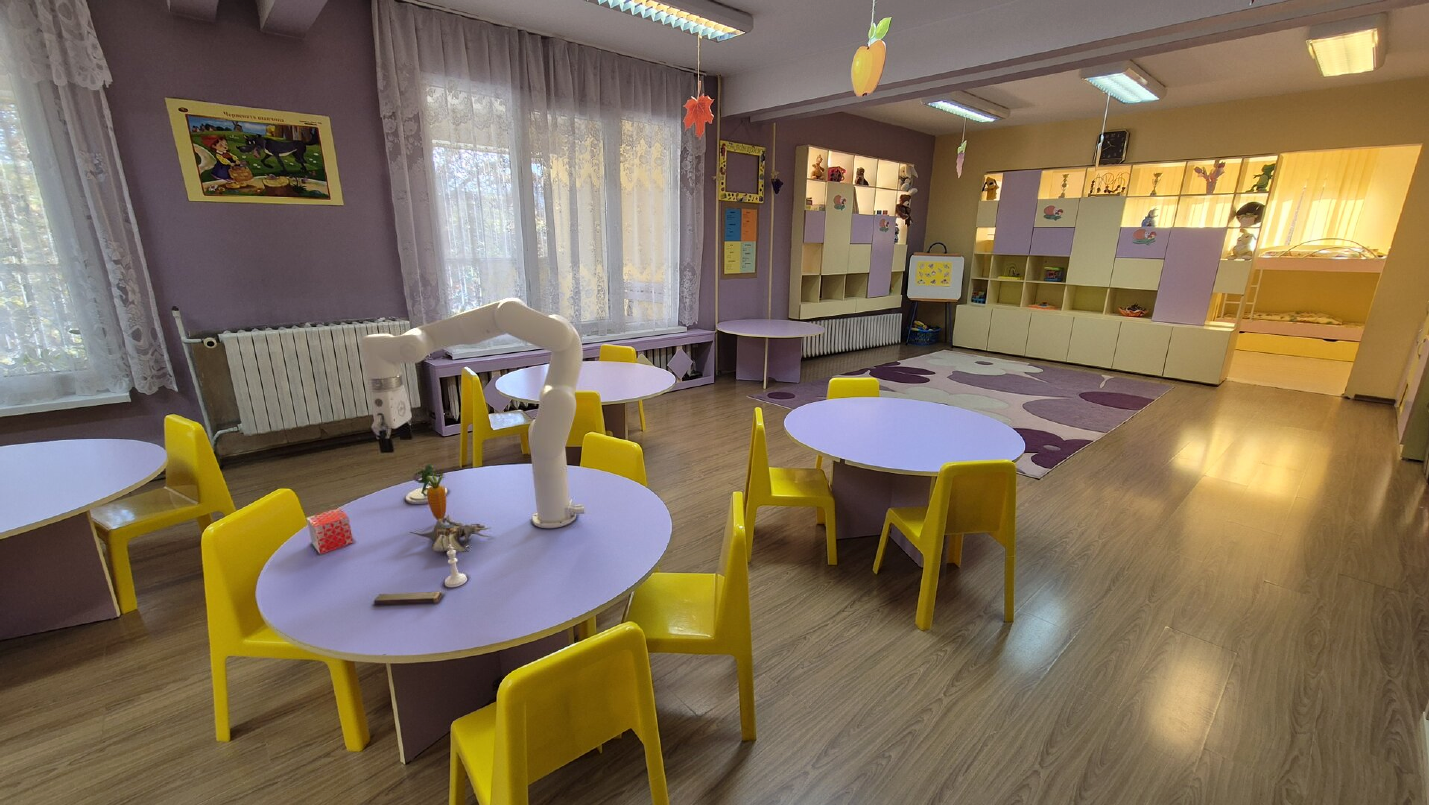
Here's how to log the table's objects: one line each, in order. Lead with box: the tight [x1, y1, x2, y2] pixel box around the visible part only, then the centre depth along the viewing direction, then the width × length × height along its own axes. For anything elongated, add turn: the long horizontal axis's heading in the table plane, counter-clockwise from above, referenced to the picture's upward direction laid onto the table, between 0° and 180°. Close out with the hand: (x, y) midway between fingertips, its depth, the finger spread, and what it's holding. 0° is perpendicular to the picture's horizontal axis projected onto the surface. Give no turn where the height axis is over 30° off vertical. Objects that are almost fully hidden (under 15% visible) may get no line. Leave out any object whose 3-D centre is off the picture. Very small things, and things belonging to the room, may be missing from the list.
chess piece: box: [444, 544, 468, 588], centre depth 136 cm, size 5×5×10 cm
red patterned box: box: [306, 507, 355, 555], centre depth 155 cm, size 8×8×8 cm
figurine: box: [409, 514, 492, 553], centre depth 153 cm, size 20×6×17 cm
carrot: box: [427, 475, 447, 521], centre depth 165 cm, size 5×5×15 cm
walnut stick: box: [373, 590, 443, 606], centre depth 130 cm, size 14×3×1 cm, turn 93°
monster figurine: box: [405, 462, 448, 505], centre depth 183 cm, size 12×12×10 cm
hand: (397, 445), depth 150 cm, fingers open, 9 cm apart
